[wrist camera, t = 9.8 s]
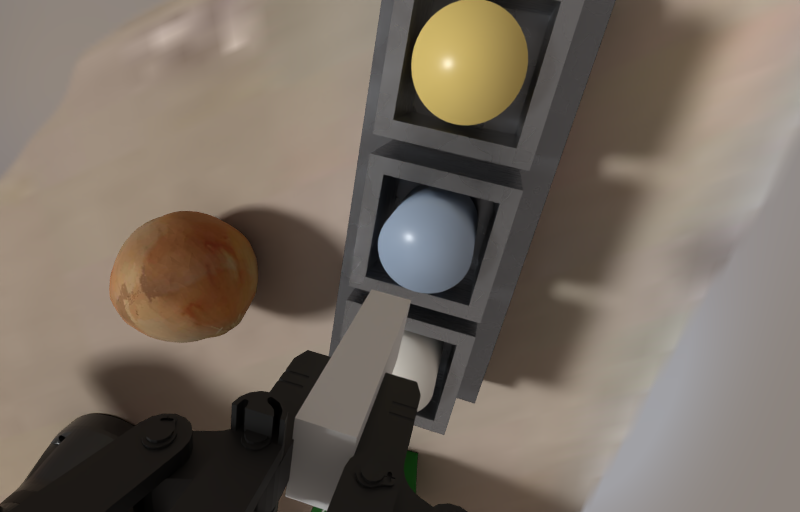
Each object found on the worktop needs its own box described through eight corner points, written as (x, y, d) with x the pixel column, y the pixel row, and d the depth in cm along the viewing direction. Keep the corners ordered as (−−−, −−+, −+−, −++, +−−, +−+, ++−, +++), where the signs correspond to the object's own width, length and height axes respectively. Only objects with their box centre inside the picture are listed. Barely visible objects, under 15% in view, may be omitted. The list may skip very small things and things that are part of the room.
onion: (249, 324, 39) (173, 399, 30) (159, 256, 38) (53, 312, 29) (301, 250, 35) (230, 311, 26) (201, 172, 34) (93, 207, 25)
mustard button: (420, 104, 25) (401, 112, 20) (440, 5, 22) (424, -12, 18) (507, 124, 24) (508, 136, 19) (536, 23, 22) (544, 11, 17)
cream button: (370, 354, 32) (348, 400, 28) (382, 298, 30) (360, 337, 26) (435, 374, 32) (424, 424, 27) (451, 318, 29) (442, 362, 25)
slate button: (392, 246, 28) (371, 279, 24) (407, 172, 26) (386, 193, 22) (466, 266, 28) (459, 304, 23) (487, 192, 26) (484, 218, 21)
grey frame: (341, 337, 37) (302, 400, 30) (402, -44, 26) (362, -90, 18) (476, 378, 36) (469, 454, 29) (608, -7, 24) (652, -40, 17)
